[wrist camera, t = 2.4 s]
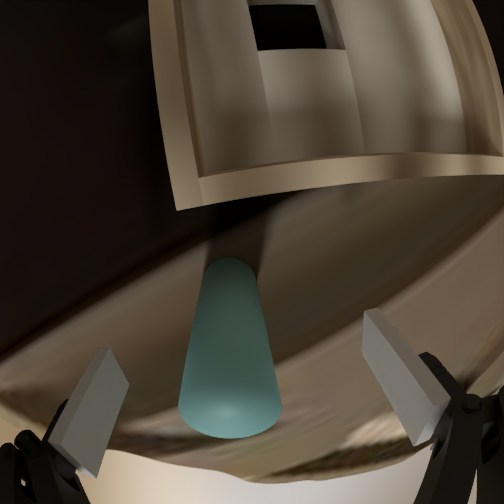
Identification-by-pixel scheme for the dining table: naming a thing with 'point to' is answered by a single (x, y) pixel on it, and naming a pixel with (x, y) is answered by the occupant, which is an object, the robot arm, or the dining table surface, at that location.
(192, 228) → the dining table surface
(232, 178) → the box
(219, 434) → the peg
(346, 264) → the dining table surface
